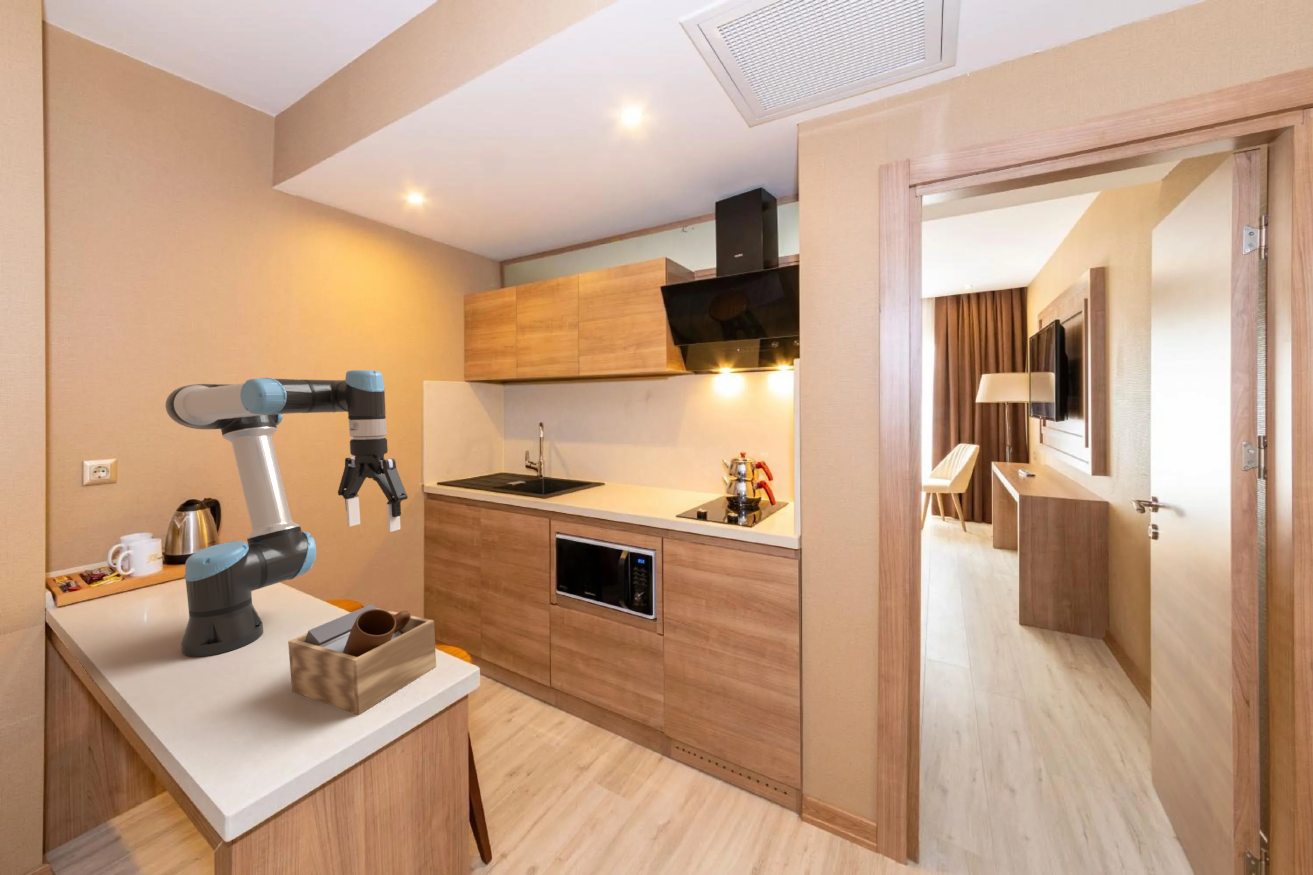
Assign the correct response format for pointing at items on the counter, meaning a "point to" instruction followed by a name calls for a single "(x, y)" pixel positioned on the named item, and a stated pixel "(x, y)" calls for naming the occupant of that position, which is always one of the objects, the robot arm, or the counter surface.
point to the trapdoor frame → (363, 668)
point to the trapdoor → (337, 631)
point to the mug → (373, 630)
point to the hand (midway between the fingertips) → (373, 527)
